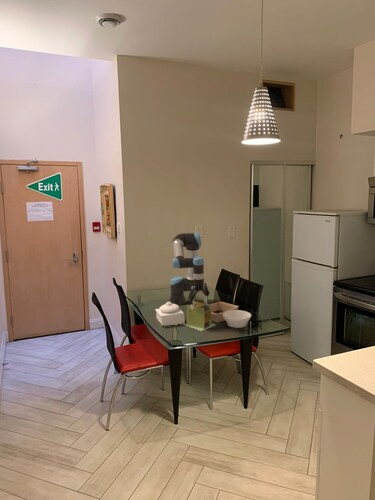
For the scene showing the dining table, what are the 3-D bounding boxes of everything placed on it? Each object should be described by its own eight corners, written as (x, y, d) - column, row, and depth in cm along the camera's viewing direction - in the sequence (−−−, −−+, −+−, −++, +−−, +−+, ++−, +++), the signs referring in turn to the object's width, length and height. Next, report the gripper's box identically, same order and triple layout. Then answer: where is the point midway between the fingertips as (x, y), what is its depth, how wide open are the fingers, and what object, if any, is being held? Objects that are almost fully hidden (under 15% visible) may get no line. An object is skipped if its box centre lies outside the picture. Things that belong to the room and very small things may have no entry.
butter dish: (184, 323, 281) (183, 303, 279) (161, 327, 276) (160, 307, 273) (177, 316, 298) (176, 297, 295) (155, 320, 292) (154, 300, 290)
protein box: (204, 328, 270) (204, 308, 268) (186, 324, 279) (186, 304, 276) (211, 324, 279) (211, 304, 277) (194, 320, 287) (193, 301, 285)
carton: (196, 317, 297) (196, 309, 296) (220, 308, 316) (220, 301, 315) (215, 323, 282) (215, 315, 281) (239, 314, 301) (239, 306, 300)
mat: (183, 324, 281) (183, 324, 281) (198, 319, 291) (198, 318, 291) (200, 331, 267) (200, 330, 267) (216, 325, 278) (216, 324, 278)
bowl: (231, 318, 292) (231, 308, 291) (256, 323, 280) (256, 313, 279) (217, 326, 275) (217, 316, 274) (243, 332, 263) (243, 321, 262)
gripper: (189, 282, 262) (190, 311, 266) (214, 276, 279) (214, 303, 283) (182, 280, 268) (183, 309, 272) (206, 274, 284) (207, 301, 288)
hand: (199, 306), depth 277 cm, fingers open, 13 cm apart
